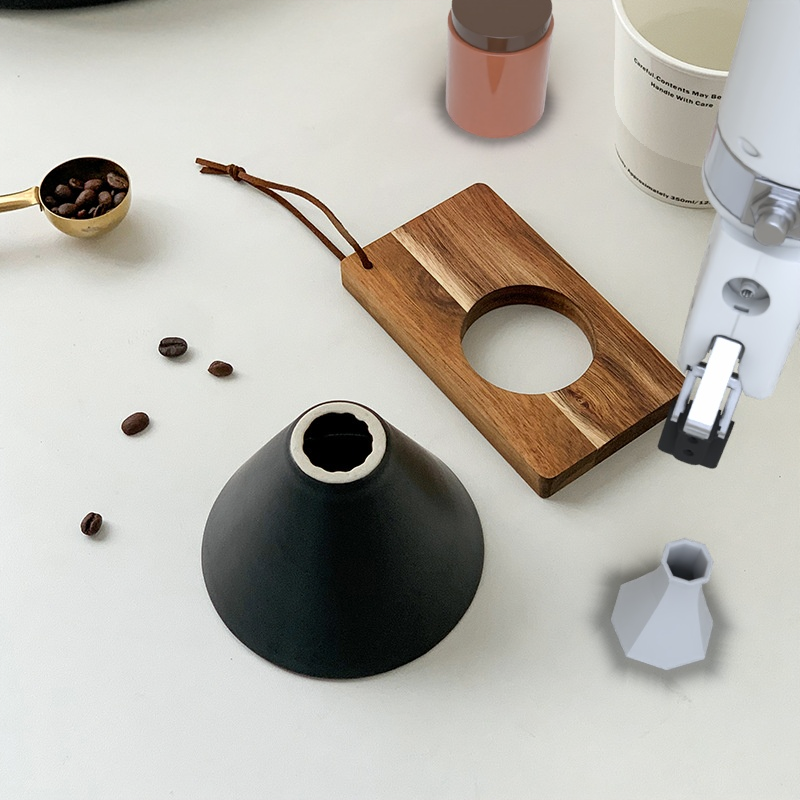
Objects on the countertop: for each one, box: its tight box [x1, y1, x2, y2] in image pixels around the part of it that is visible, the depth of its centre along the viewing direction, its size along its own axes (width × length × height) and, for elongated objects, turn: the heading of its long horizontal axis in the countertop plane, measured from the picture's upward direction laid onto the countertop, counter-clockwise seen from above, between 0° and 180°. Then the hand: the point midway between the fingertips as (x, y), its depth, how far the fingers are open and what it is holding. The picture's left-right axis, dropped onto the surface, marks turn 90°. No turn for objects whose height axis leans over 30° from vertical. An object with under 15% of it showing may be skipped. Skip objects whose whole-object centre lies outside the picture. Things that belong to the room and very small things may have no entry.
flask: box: [610, 537, 714, 671], centre depth 77 cm, size 7×7×10 cm
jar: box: [445, 0, 555, 139], centre depth 104 cm, size 9×9×12 cm
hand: (712, 385), depth 65 cm, fingers open, 9 cm apart
